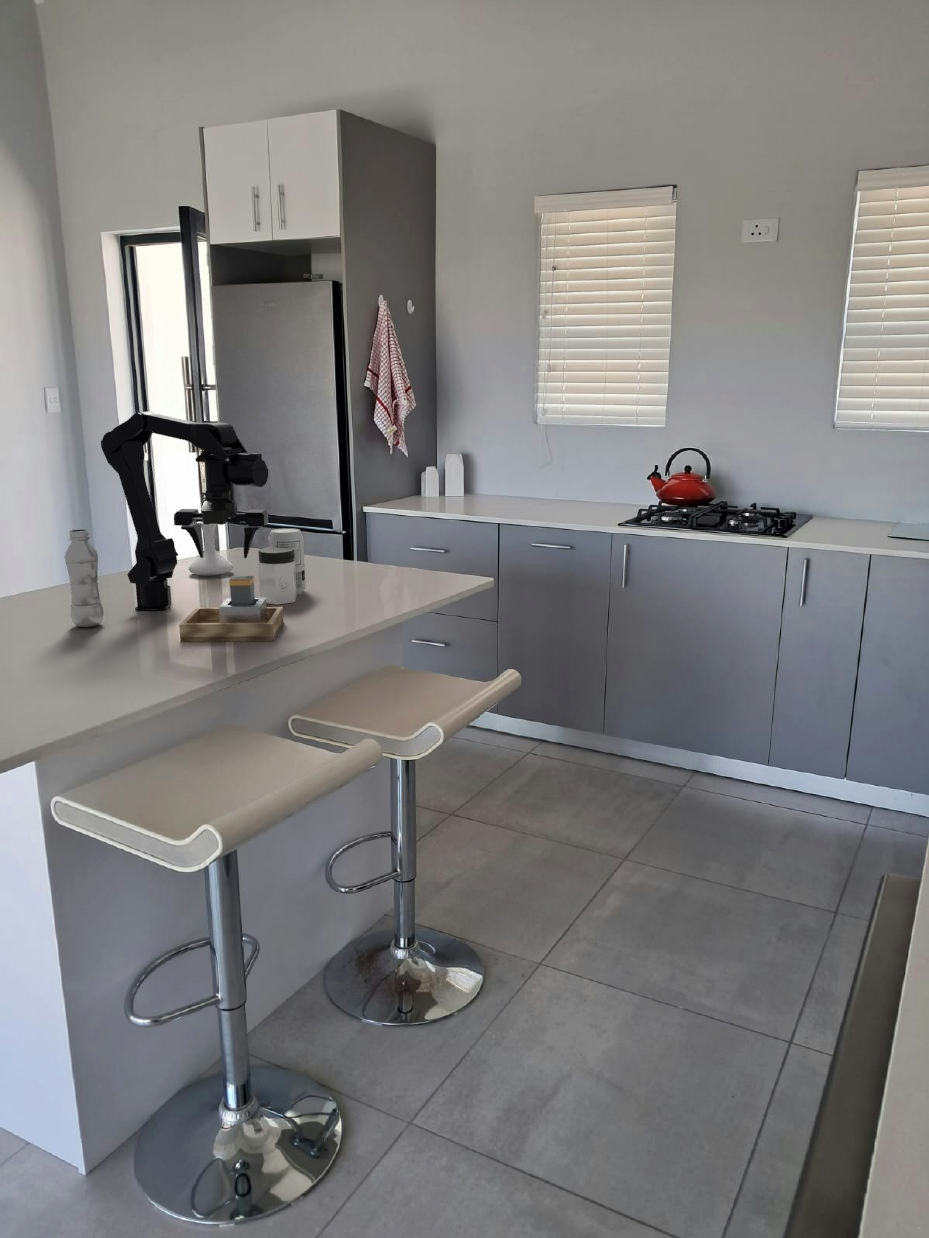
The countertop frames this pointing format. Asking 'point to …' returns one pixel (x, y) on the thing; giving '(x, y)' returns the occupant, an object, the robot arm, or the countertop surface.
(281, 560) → the jar
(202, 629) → the oak box
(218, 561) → the flower in vase
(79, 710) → the countertop surface
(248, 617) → the socket
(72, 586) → the plastic bottle
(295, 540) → the supplement can
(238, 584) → the block
